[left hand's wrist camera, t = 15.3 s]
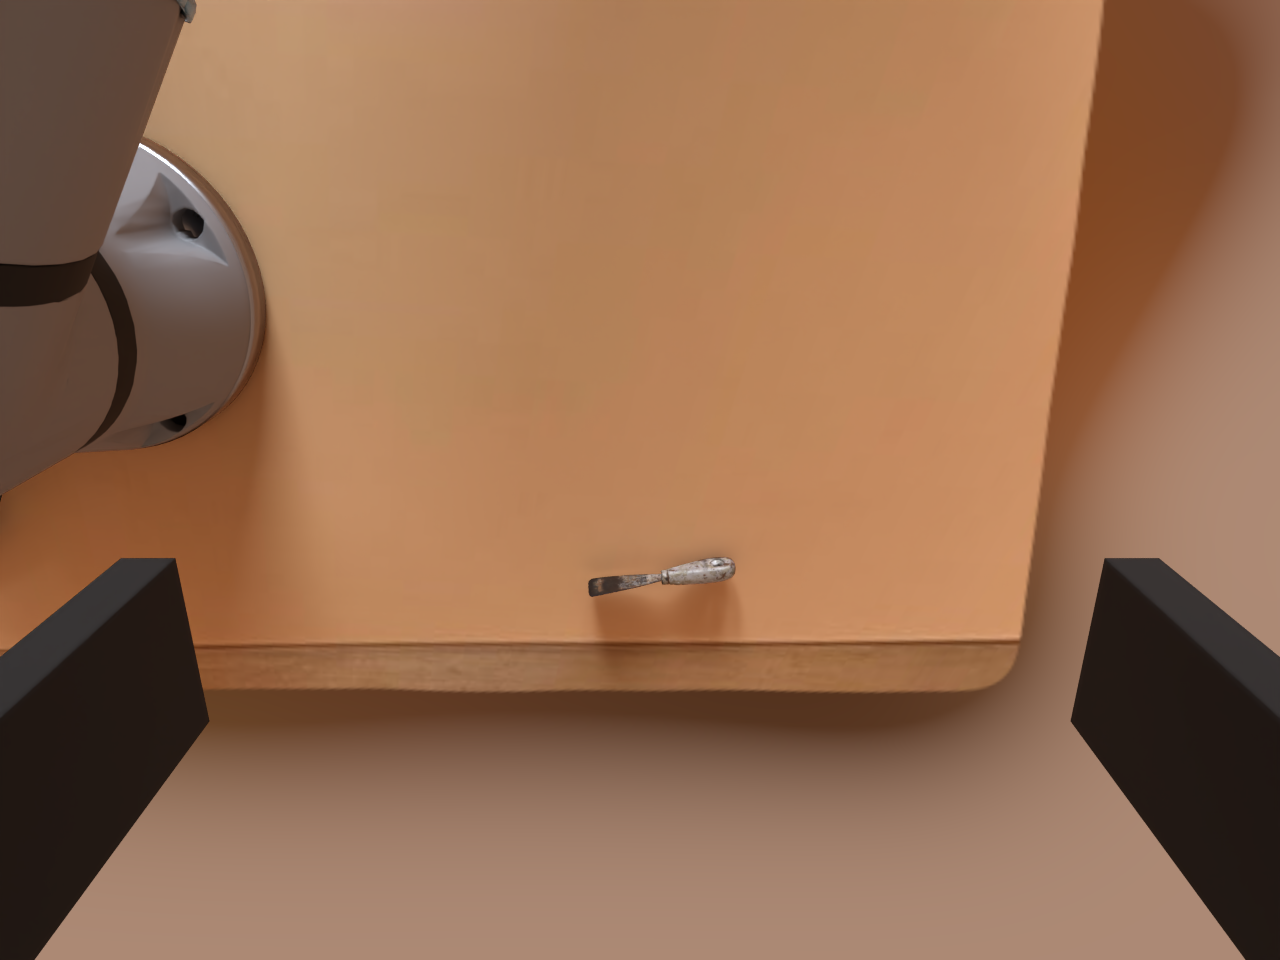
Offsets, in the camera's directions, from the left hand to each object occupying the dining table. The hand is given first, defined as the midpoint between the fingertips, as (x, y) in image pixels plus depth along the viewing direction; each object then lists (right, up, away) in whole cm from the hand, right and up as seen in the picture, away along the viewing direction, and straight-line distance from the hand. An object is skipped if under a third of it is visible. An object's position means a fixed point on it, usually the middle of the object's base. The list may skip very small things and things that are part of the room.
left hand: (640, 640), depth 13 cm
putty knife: (+1, -3, +36) cm, 36 cm away
